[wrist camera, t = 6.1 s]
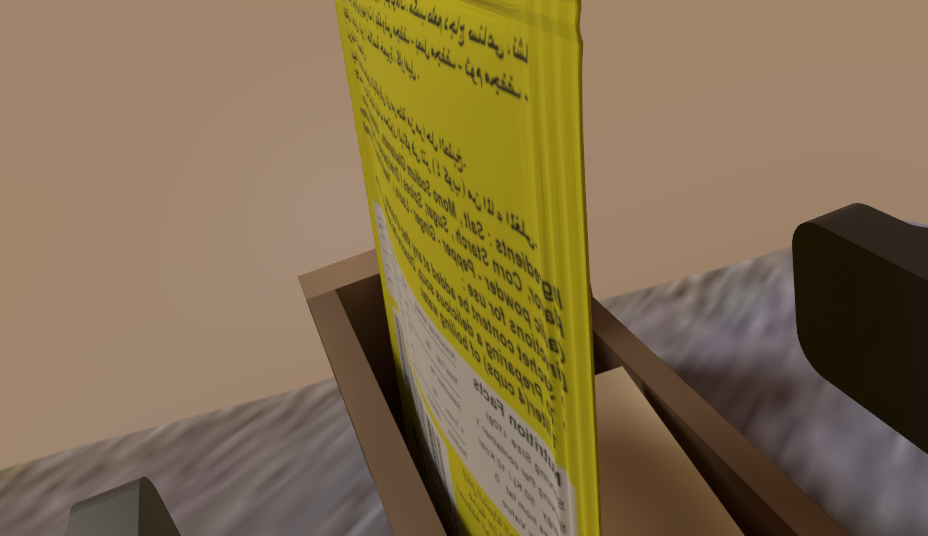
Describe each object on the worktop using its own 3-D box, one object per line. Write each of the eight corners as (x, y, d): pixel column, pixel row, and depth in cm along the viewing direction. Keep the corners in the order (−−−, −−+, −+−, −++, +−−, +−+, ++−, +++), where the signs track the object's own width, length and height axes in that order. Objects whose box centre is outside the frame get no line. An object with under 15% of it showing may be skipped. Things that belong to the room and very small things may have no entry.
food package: (648, 984, 17) (622, -90, 9) (596, 1008, 17) (517, -75, 8) (434, 506, 31) (340, -102, 22) (404, 516, 30) (296, -97, 22)
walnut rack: (594, 1075, 16) (507, 840, 12) (360, 447, 34) (297, 276, 31) (1025, 828, 18) (1058, 559, 14) (586, 356, 36) (552, 185, 33)
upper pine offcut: (622, 696, 21) (605, 627, 19) (521, 464, 29) (505, 405, 27) (776, 639, 21) (767, 567, 20) (633, 426, 29) (622, 365, 28)
